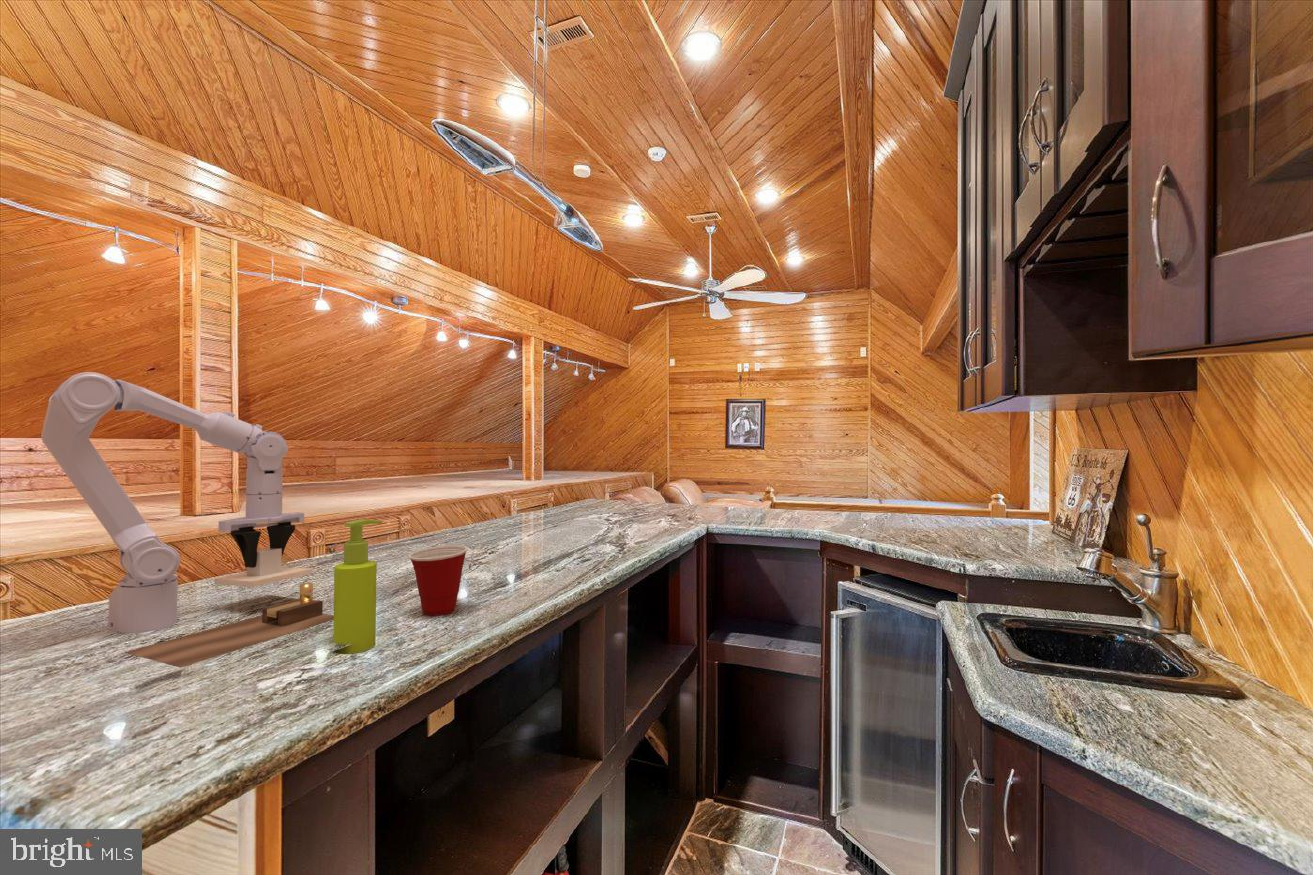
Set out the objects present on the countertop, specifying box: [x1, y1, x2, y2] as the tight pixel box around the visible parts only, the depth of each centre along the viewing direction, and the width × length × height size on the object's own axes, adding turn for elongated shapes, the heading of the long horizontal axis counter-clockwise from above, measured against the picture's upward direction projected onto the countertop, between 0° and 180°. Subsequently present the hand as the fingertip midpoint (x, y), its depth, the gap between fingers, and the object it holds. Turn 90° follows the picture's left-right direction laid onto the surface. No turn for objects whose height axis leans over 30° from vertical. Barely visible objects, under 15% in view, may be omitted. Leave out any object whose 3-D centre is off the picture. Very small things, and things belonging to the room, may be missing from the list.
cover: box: [213, 547, 313, 588], centre depth 104 cm, size 11×11×6 cm
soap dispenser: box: [332, 518, 383, 655], centre depth 87 cm, size 6×7×20 cm
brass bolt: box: [267, 582, 317, 618], centre depth 95 cm, size 2×7×4 cm, turn 158°
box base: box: [124, 597, 334, 669], centre depth 88 cm, size 14×24×4 cm, turn 158°
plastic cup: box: [407, 544, 469, 617], centre depth 105 cm, size 11×11×12 cm
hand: (263, 564), depth 104 cm, fingers closed on cover, 4 cm apart
